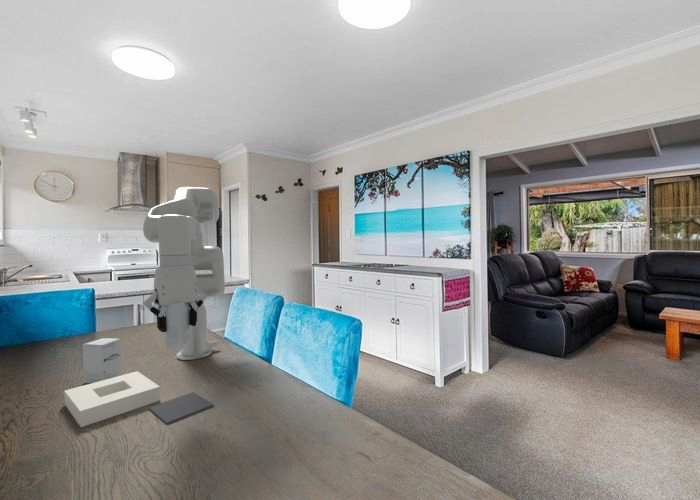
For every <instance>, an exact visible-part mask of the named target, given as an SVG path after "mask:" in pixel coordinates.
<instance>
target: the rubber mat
mask: <svg viewBox="0 0 700 500" xmlns="http://www.w3.org/2000/svg"><path fill="white" fill-rule="evenodd" d="M213 407H215V404H214V403H212V402H211V401H209V400H207V399H206V398H204V397H202V396H200V395H199V394H197V393H196V392H195V391H193V392H190V393H186V394H183V395H181V396H178V397H175V398H172V399H169V400H166V401H164V402H160V403H158V404H154V405H152V406H149V407H148V411H150V412H151V413H153V414H154V415H155V416H156V417H157V418H159V419H160V420H161V421H162V422H163V423H164V424H166V425H169V424H172V423H174V422H176V421H177V422H178V421H179V420H183V419H184V418H187V417H189V416H192V415H195V414H198V413H200V412H203V411H205V410H208V409H210V408H213Z"/></svg>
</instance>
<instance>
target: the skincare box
mask: <svg viewBox="0 0 700 500" xmlns="http://www.w3.org/2000/svg"><path fill="white" fill-rule="evenodd" d="M164 316H165V317H166V329H167V331H166V332H164V333H165V334H164V335H165V339H164V340H165V350H181V349H182V348H183V347H184V346H186V345H187V344H188V343H190V315H189V304H188V303H186V304H185V303H184V302H178V303H173V304H172V305H170V306H168V307H167V309H166V311H165V313H164Z"/></svg>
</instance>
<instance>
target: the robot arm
mask: <svg viewBox="0 0 700 500" xmlns="http://www.w3.org/2000/svg"><path fill="white" fill-rule="evenodd" d="M171 196H172V197H171V198H170V200H169V201H167V202H165V203H161V204H159V205H156V206H154V207H152V208H151V209H149V211H148V212H147V214H146V217H145V218H144V221H143V227H142V231H143V236H144V238H145V239H146V240H147V241H149V242H150V243H156V244H158V255H159V256H158V258H159V267H156V268H155V271H154V279H153V291H152V294H151V295H149V297H147V298H146V299H145V300H144V301H143V302H142V305H143V306H144V307H145V308H146V309H147V310H148V311H149V312H151V313H152V314H153V315H155V316H156V327H157V329H158V330H159V332H160V333H161V332H162V333H165V332H166V331H167V329H166V317H165V311H166V309H167V307H168V306H170V305H172V304H173V303H178V302H184V303H185V304H186V303H188V304H189V315H190V343H188V344H187V345H186V346H184V347H183V348H182V349H180V351H178V352H177V353H176V359H178V360H182V361H194V360H199V359H202V358H206V357H208V356H210V355H211V354H212V352H213V351H212V347H216V346H219V345H220V341H219V340H210V341H209V340H208V325H207V324H208V321H207V320H208V319H207V309H206V306H205V305H204V301H205V300H206V299H209V298H210V299H211V298H219V297H223V295H224V294H225V288H226V285H225V284H226V283H225V281H226V280H225V279H226V278H225V260H224V253H223V249H222V248H221V247H219V246H215V245H204V237H203V232H202V231H201V225H200V224H213V223H216V222H218V220H219V217H220V205H219V199H218V198H219V197H218V195H217V192H216V191H215V190H213V189H212V188H210V187H199V186H198V187H193V186H186V187H185V186H183V187H179V188H177V189H175V190H174V192H173V193H172V195H171ZM197 271H199V272H200V271H210V272H211V273H196V272H197ZM153 303H154V304H155V305H157V307H155V306H154V305H153Z"/></svg>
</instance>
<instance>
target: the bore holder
mask: <svg viewBox="0 0 700 500" xmlns="http://www.w3.org/2000/svg"><path fill="white" fill-rule="evenodd" d="M159 401H161V386H160V385H159V384H157V383H155V382H154V381H153V380H151V379H149V378H148V377H147V376H145V375H144V374H142V373H141V372H139V371H134V372H133V371H132V372H129V373H125V374H121V376H117V377H114V378H110V379H106V380H103V381H99V382H95V383H87V384H84V385H81V386H77V387H73V388H69V389H65V390H64V405H65V407H66V408H67V410H68V411H69V413H70V414H71V415H72V417H73V419H75V421H76V422H77V424H78V425H79V426H80V428H84V427H86V426H89V425H92V424H96V423H98V422H101V421H104V420H107V419H109V418H112V417H116V416H119V415H121V414H125V413H128V412H131V411H133V410H136V409H139V408H142V407H145V406H147V405H151V404H154V403H157V402H159Z"/></svg>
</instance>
